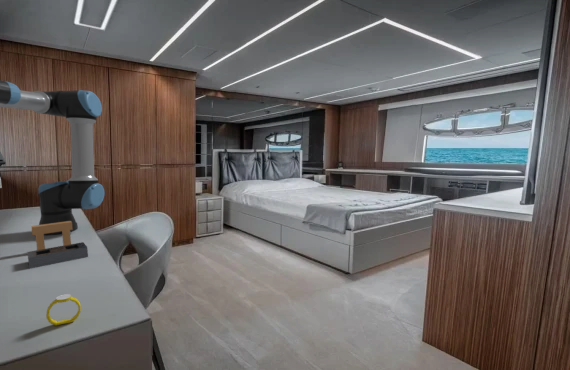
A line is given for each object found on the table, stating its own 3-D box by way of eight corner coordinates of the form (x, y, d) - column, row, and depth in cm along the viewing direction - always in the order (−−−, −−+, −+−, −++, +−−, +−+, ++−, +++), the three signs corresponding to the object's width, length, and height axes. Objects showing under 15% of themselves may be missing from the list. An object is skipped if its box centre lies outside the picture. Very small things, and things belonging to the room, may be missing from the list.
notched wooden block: (34, 254, 111) (31, 227, 110) (34, 252, 113) (31, 226, 112) (74, 247, 119) (71, 222, 118) (73, 245, 121) (70, 220, 120)
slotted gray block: (29, 268, 98) (28, 258, 97) (28, 261, 104) (27, 251, 103) (88, 256, 108) (87, 247, 108) (84, 251, 114) (83, 242, 114)
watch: (47, 330, 64) (44, 303, 63) (48, 324, 66) (45, 297, 66) (81, 321, 67) (79, 295, 66) (81, 315, 69) (79, 290, 69)
